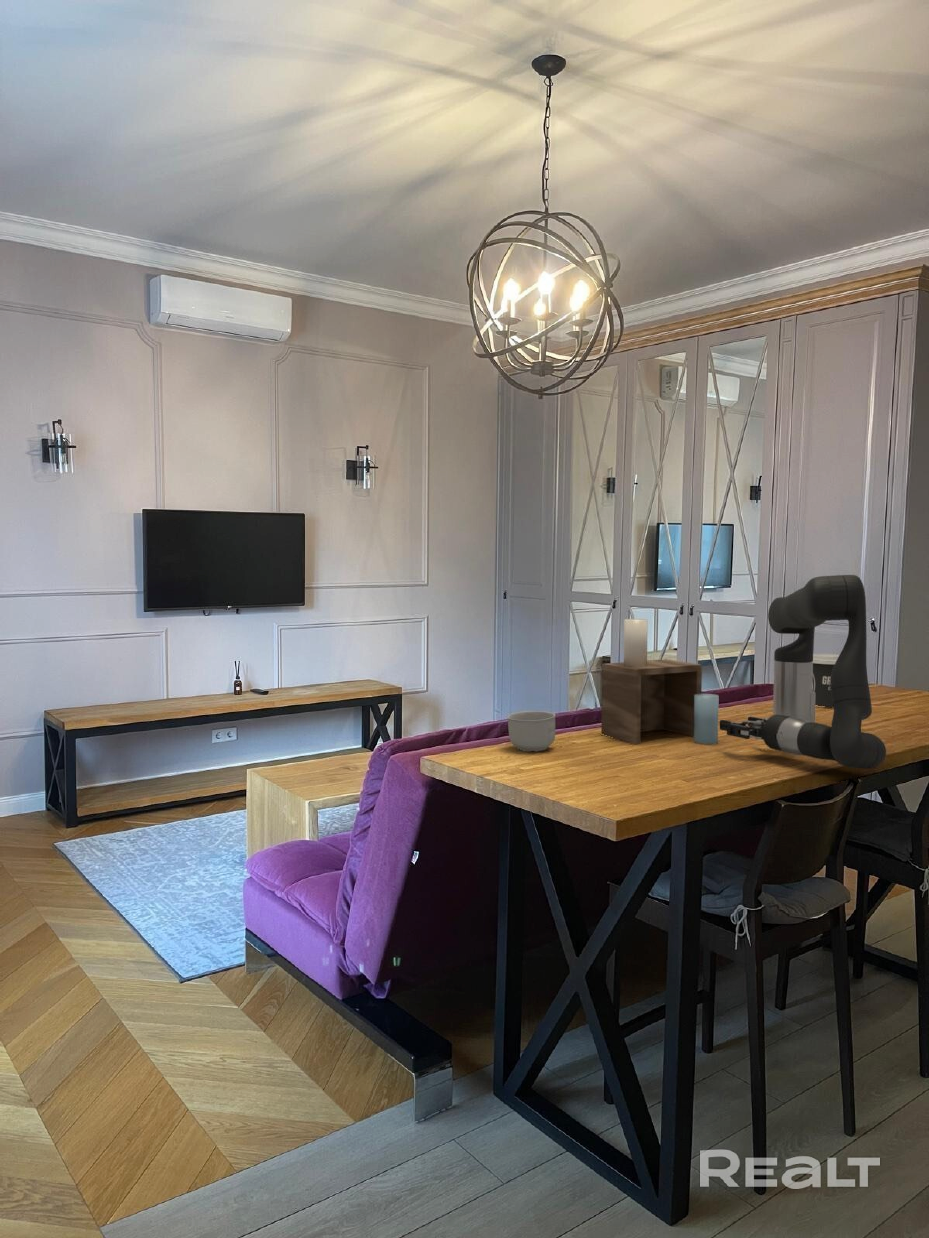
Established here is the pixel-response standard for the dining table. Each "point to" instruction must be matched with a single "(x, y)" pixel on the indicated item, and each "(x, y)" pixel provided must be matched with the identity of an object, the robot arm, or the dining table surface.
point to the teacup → (531, 730)
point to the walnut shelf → (649, 698)
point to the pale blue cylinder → (706, 718)
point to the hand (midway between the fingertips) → (734, 722)
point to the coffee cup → (823, 678)
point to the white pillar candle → (635, 642)
